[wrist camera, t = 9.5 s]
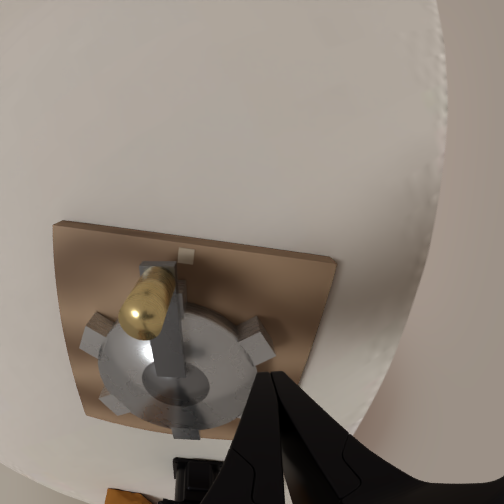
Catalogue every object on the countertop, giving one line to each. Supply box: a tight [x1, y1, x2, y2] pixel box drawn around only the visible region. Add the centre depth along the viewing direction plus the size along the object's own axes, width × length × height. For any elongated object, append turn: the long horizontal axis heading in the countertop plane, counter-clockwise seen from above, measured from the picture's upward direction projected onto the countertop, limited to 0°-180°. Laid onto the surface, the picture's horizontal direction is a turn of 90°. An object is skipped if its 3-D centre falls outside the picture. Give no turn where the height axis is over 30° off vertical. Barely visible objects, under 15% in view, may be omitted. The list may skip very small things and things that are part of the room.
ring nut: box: [79, 261, 276, 440], centre depth 17 cm, size 14×17×7 cm
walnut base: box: [53, 220, 337, 440], centre depth 21 cm, size 20×20×2 cm
